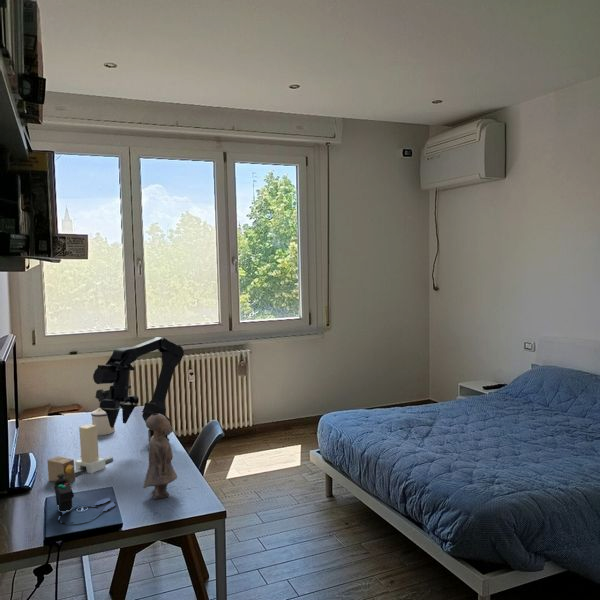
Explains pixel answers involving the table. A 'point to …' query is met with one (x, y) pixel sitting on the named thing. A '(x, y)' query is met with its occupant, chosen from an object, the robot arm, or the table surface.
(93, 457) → the cream block on base
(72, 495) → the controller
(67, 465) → the brown block with rod
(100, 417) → the teacup with lid
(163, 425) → the clay figurine
